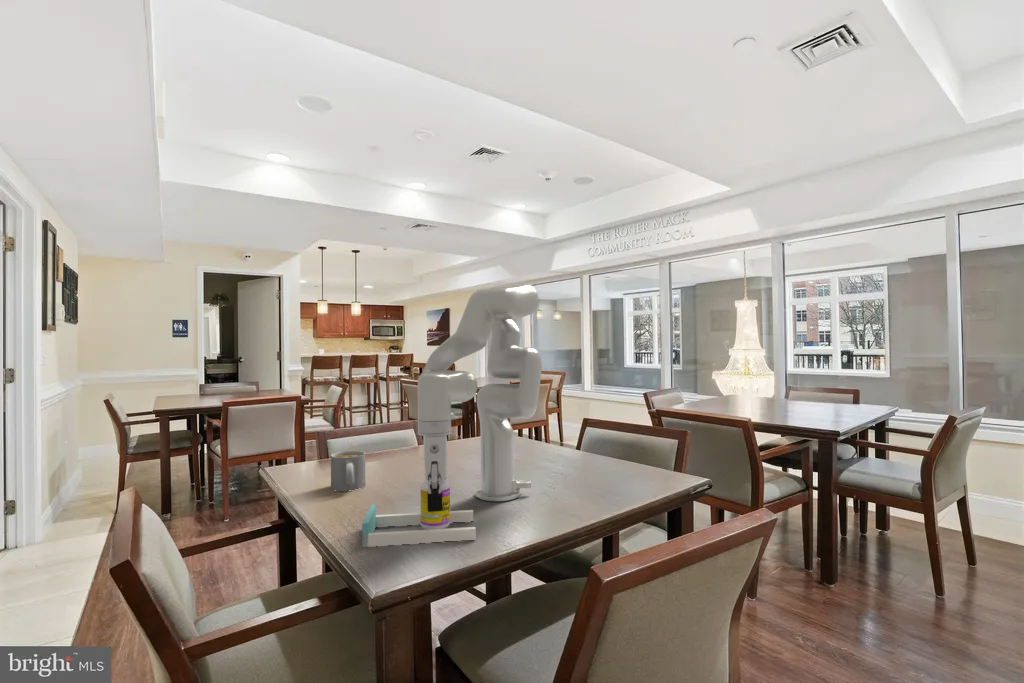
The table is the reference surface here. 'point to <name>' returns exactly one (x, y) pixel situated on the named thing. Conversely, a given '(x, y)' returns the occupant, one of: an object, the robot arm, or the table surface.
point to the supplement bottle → (438, 517)
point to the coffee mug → (347, 470)
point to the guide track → (416, 535)
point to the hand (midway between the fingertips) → (435, 504)
